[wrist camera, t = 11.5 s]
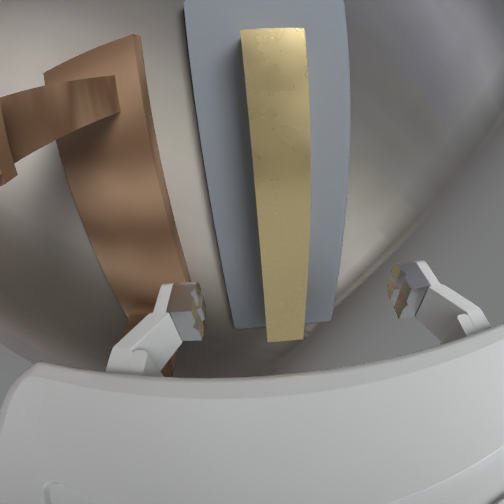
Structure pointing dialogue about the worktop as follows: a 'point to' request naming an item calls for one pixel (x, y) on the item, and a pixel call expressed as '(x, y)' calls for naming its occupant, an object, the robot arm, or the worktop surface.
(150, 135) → the stand
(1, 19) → the worktop surface
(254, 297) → the slate mat
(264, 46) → the brass rail
